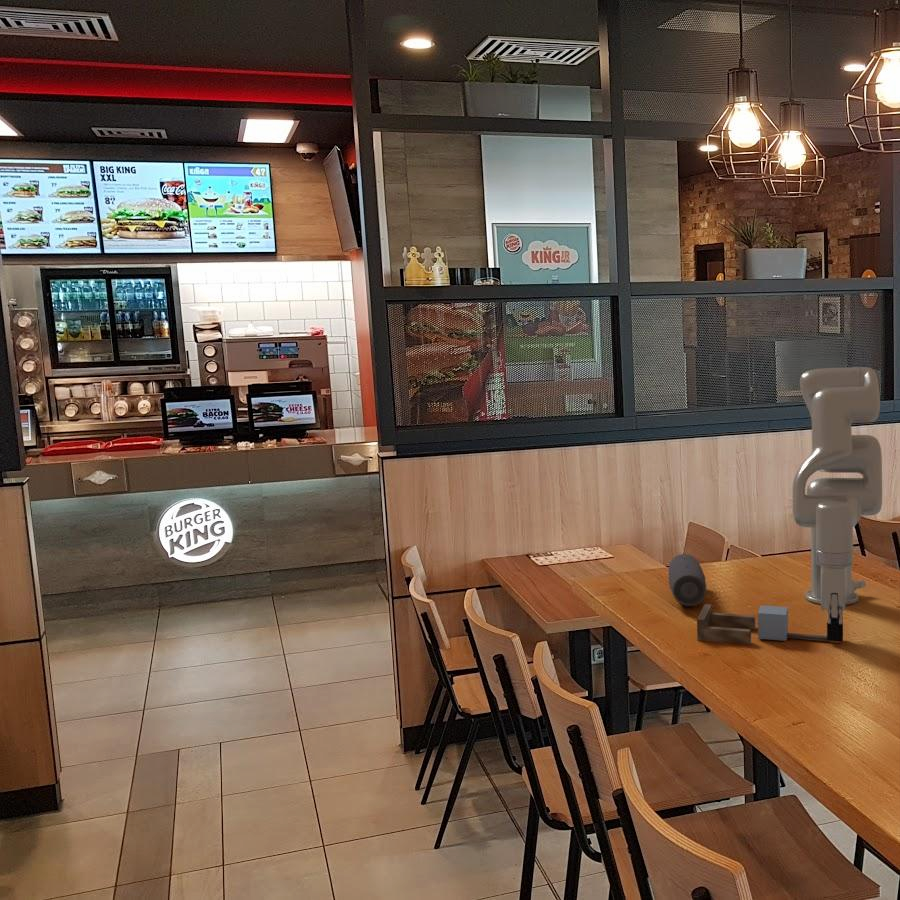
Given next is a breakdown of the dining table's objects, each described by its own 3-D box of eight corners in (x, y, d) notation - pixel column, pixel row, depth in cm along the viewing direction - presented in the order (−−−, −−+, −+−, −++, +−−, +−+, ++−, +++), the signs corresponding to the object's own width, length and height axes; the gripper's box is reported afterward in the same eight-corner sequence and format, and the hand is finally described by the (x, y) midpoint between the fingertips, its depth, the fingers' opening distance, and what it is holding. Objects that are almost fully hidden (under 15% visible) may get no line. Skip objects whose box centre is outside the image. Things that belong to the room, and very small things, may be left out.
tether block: (842, 636, 200) (842, 606, 200) (842, 645, 195) (842, 614, 194) (760, 630, 208) (760, 601, 207) (758, 638, 202) (757, 608, 201)
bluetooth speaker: (709, 611, 226) (708, 572, 224) (671, 611, 227) (670, 573, 226) (702, 586, 248) (701, 551, 247) (667, 586, 250) (666, 552, 248)
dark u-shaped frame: (755, 627, 211) (755, 607, 210) (750, 644, 200) (749, 623, 199) (705, 624, 216) (704, 604, 215) (697, 640, 205) (696, 619, 204)
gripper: (817, 548, 205) (818, 625, 207) (814, 566, 190) (815, 648, 192) (852, 549, 202) (853, 627, 204) (853, 567, 187) (853, 651, 189)
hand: (835, 637), depth 198 cm, fingers closed on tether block, 3 cm apart
